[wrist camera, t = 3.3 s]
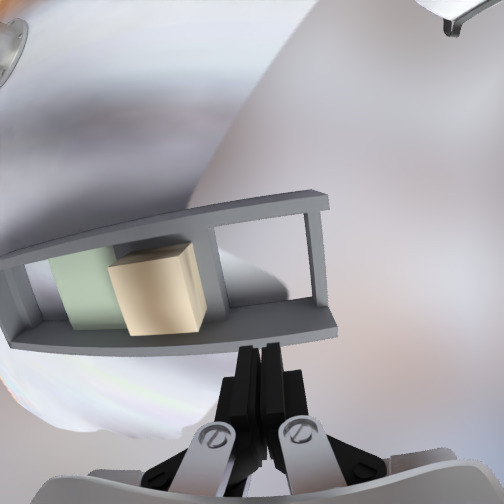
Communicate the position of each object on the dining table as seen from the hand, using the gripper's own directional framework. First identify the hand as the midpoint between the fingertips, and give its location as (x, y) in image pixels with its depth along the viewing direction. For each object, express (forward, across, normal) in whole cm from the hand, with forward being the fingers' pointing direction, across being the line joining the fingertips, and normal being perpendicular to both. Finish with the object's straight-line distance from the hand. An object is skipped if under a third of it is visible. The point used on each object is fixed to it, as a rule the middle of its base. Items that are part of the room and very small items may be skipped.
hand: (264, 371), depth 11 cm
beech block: (+12, +8, 0) cm, 15 cm away
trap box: (+15, +14, 0) cm, 20 cm away
